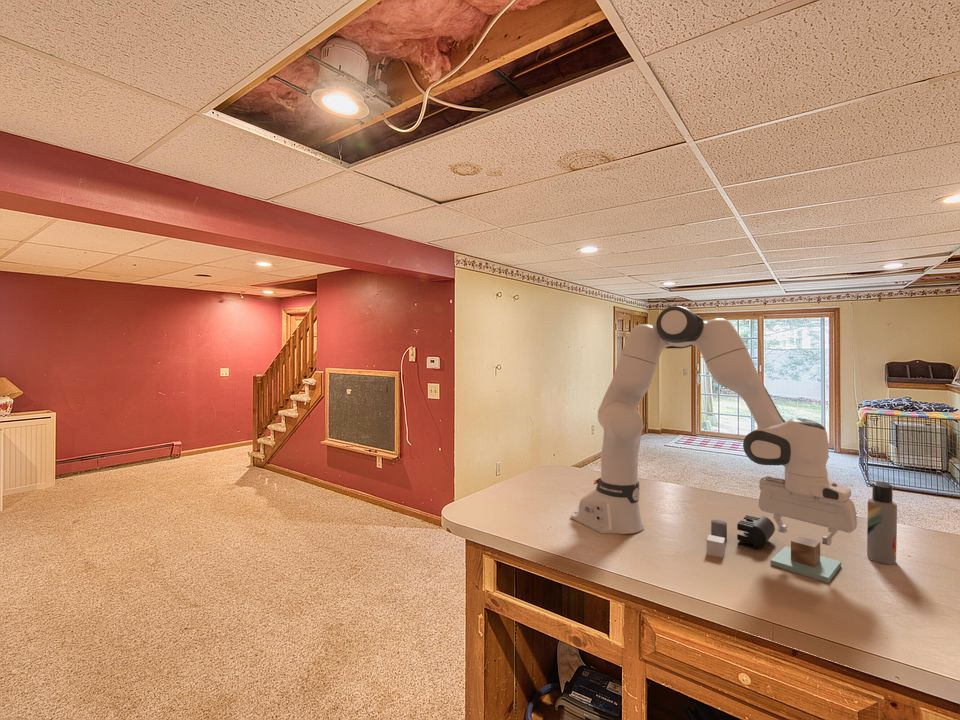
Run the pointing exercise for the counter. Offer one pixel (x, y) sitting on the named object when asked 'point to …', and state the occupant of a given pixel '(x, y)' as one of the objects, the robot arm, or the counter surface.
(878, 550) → the lotion bottle
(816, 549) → the walnut block
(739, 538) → the end cap
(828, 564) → the teal board
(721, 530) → the grey rounded piece
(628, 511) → the robot arm
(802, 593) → the counter surface
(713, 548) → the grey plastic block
